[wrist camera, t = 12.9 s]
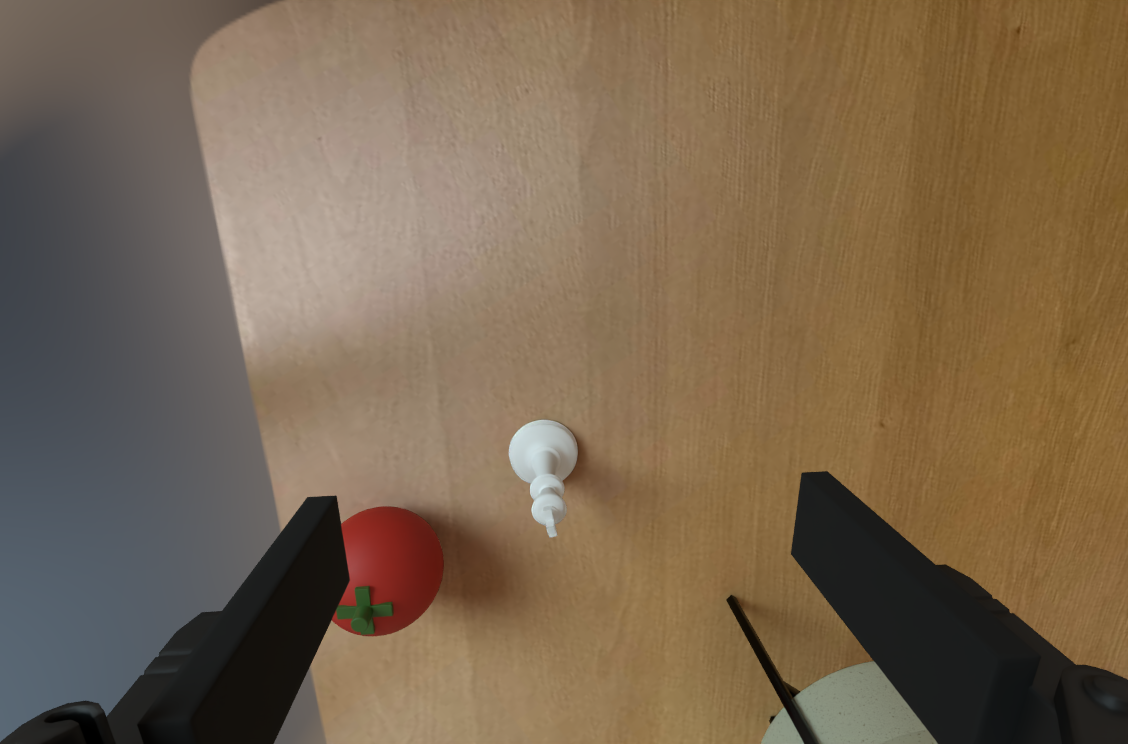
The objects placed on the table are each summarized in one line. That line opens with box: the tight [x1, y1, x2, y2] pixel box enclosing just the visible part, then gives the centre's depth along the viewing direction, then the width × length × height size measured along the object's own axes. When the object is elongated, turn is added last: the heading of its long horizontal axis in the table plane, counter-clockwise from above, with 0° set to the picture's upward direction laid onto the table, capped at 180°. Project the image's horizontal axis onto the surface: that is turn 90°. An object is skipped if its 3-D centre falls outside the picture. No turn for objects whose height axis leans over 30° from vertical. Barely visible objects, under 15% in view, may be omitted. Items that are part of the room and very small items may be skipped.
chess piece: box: [509, 420, 578, 538], centre depth 33 cm, size 5×5×10 cm
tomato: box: [332, 507, 444, 636], centre depth 34 cm, size 8×8×9 cm
